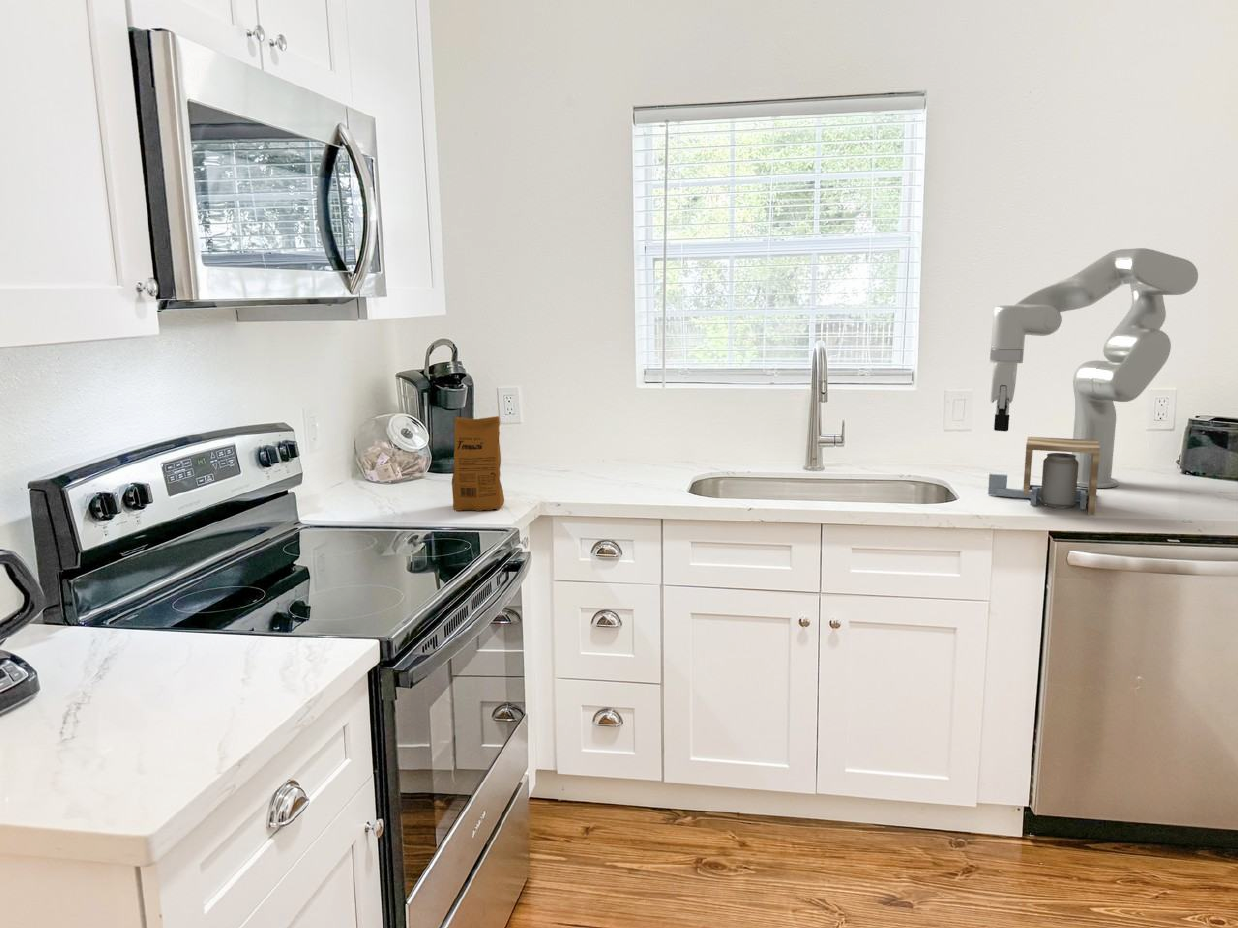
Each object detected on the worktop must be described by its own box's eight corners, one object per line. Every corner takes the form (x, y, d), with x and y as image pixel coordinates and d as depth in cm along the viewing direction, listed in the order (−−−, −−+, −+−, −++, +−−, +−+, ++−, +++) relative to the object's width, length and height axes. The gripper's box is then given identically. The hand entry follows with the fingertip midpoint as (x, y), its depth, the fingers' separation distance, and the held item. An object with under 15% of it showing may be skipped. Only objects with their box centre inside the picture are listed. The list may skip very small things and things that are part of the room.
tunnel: (1023, 498, 226) (1028, 436, 223) (1092, 504, 220) (1097, 440, 217) (1022, 509, 215) (1026, 444, 212) (1094, 515, 209) (1099, 448, 206)
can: (1079, 508, 215) (1083, 457, 213) (1044, 507, 217) (1048, 456, 214) (1070, 501, 222) (1074, 451, 220) (1037, 500, 224) (1040, 451, 222)
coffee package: (456, 502, 230) (452, 414, 226) (506, 502, 230) (503, 413, 226) (448, 512, 220) (444, 419, 216) (501, 511, 220) (498, 419, 216)
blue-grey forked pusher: (988, 493, 231) (989, 473, 230) (1084, 500, 222) (1086, 479, 221) (985, 501, 222) (987, 480, 221) (1085, 509, 214) (1087, 487, 213)
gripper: (992, 354, 237) (986, 426, 241) (988, 358, 224) (982, 433, 227) (1024, 355, 234) (1018, 427, 238) (1022, 358, 221) (1016, 435, 224)
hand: (1001, 430), depth 233 cm, fingers closed
